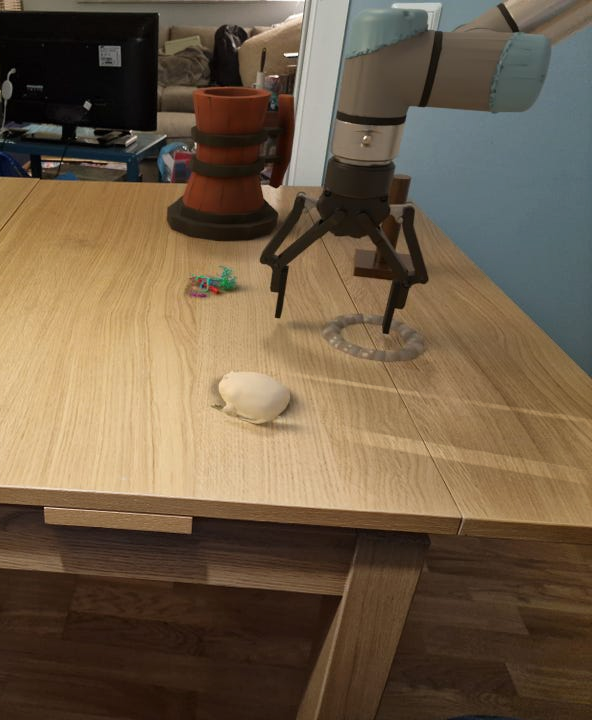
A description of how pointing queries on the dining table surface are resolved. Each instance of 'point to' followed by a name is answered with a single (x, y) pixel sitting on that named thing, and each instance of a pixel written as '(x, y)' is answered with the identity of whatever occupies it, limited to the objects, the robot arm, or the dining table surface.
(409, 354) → the bracelet
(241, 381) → the garlic
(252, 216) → the tankard
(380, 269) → the stand
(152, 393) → the dining table surface
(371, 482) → the dining table surface
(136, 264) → the dining table surface
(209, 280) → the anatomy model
